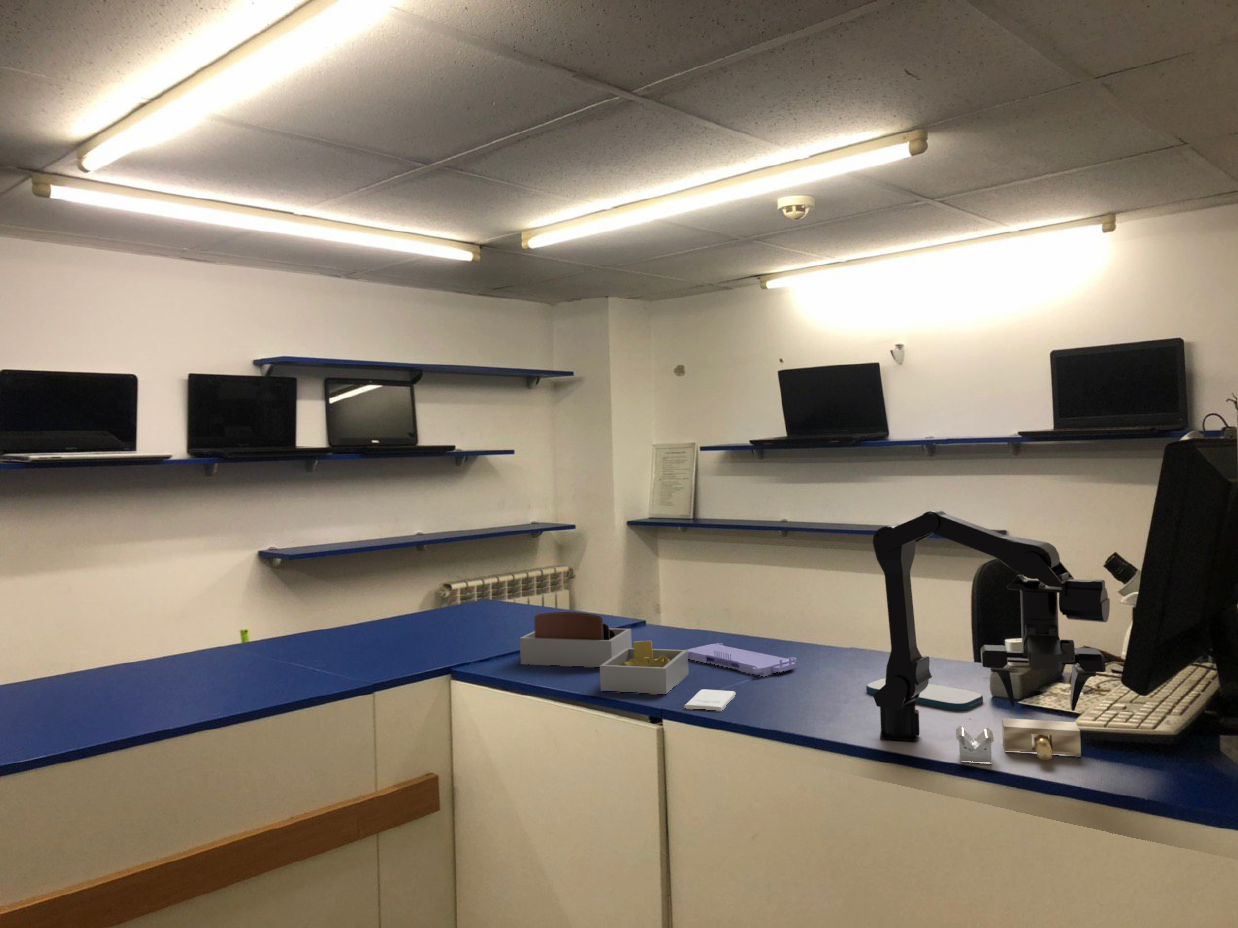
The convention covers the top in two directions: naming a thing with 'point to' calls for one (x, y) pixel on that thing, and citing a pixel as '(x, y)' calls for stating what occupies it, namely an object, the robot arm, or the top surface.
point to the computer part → (741, 659)
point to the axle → (1042, 746)
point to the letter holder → (571, 626)
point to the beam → (1060, 734)
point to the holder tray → (572, 650)
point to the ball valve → (645, 656)
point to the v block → (975, 745)
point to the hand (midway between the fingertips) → (1042, 708)
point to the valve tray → (644, 672)
